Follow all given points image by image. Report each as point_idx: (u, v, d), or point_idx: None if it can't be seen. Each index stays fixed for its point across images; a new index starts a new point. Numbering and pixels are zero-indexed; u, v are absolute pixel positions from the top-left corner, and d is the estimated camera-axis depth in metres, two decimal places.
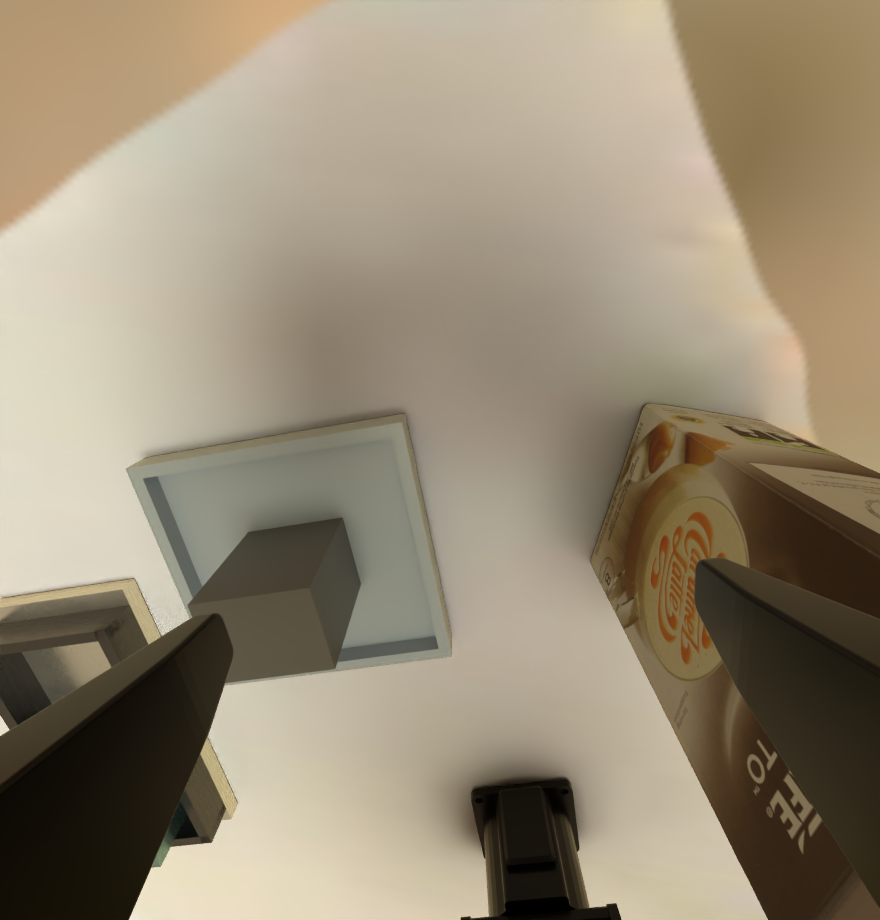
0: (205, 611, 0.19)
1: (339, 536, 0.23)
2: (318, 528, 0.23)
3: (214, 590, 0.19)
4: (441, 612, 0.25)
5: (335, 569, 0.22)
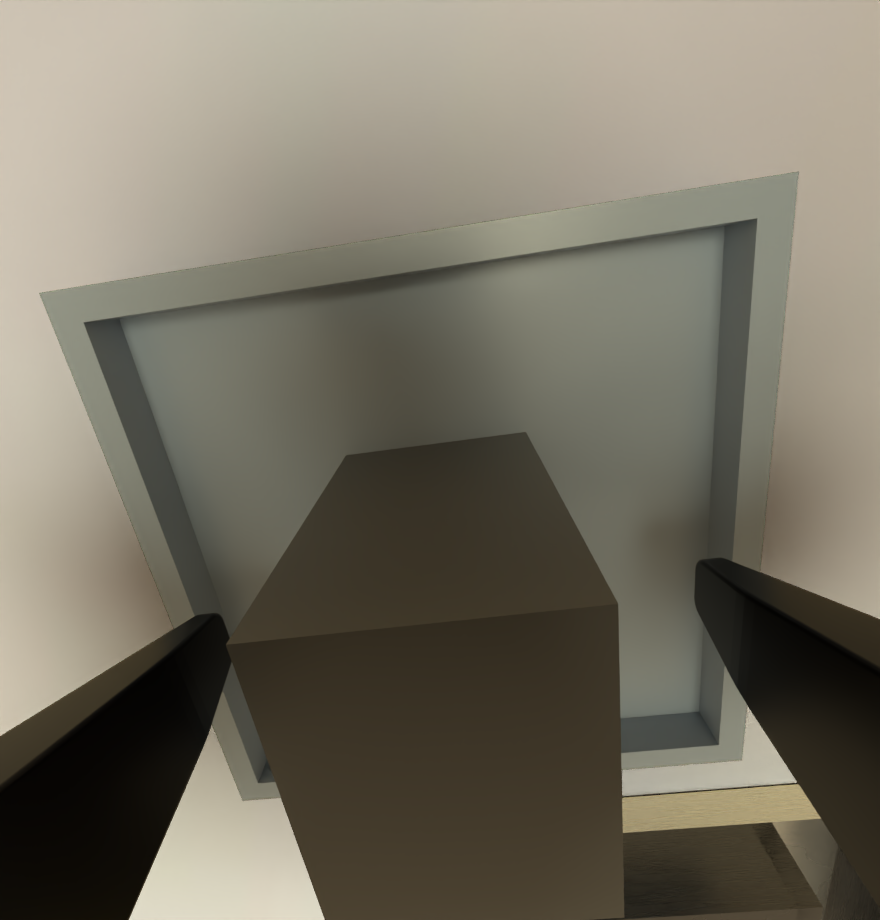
0: (349, 905, 0.06)
1: (351, 473, 0.09)
2: None
3: None
4: (619, 203, 0.08)
5: (381, 502, 0.08)
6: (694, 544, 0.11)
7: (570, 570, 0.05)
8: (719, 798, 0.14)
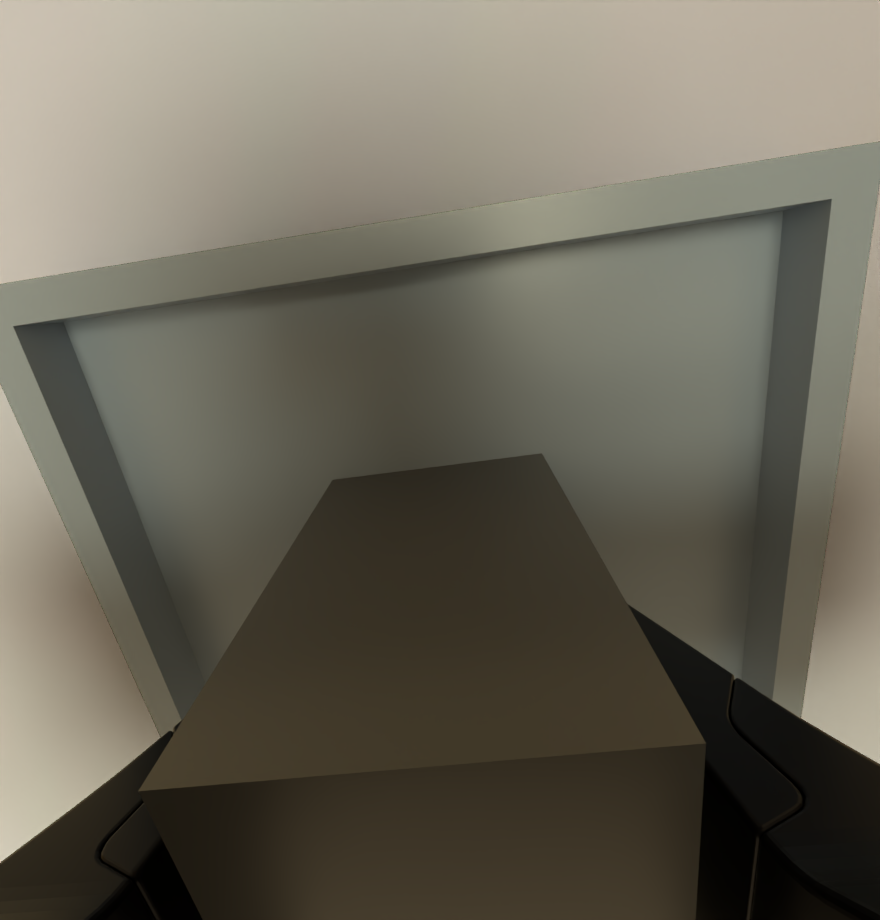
0: None
1: (336, 505, 0.08)
2: None
3: None
4: (662, 180, 0.06)
5: (370, 548, 0.06)
6: (734, 581, 0.10)
7: (625, 674, 0.04)
8: None
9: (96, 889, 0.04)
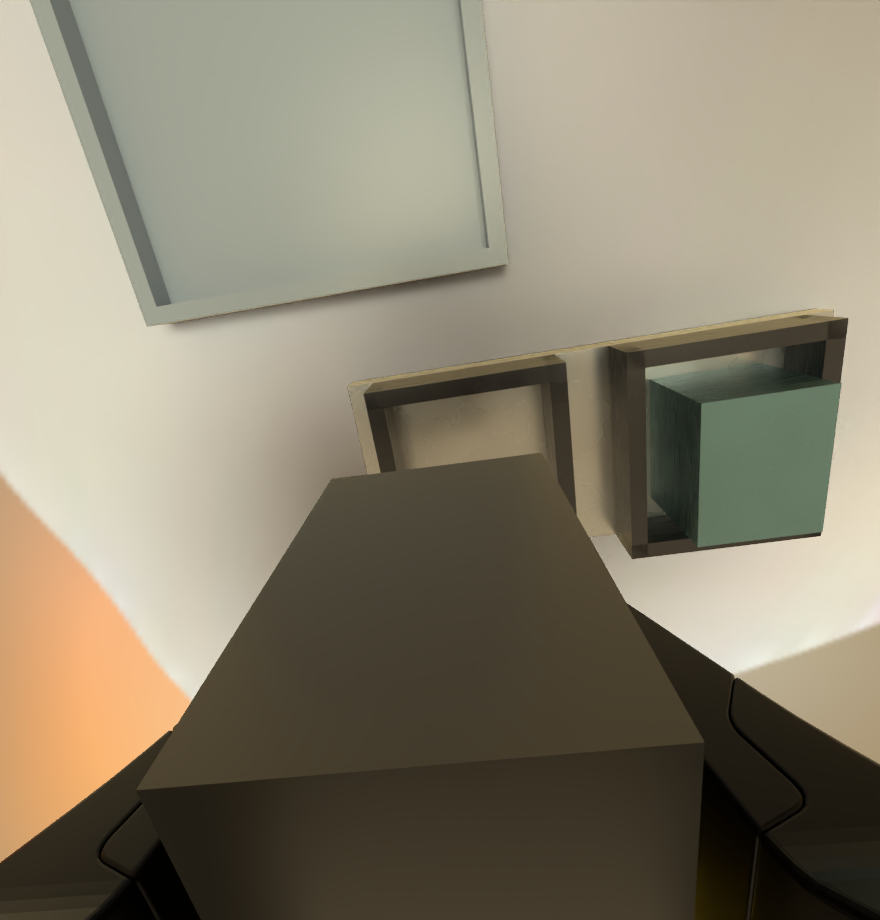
0: None
1: (336, 505, 0.08)
2: None
3: None
4: None
5: (368, 548, 0.06)
6: (457, 77, 0.15)
7: (623, 672, 0.04)
8: (522, 356, 0.19)
9: (95, 889, 0.04)
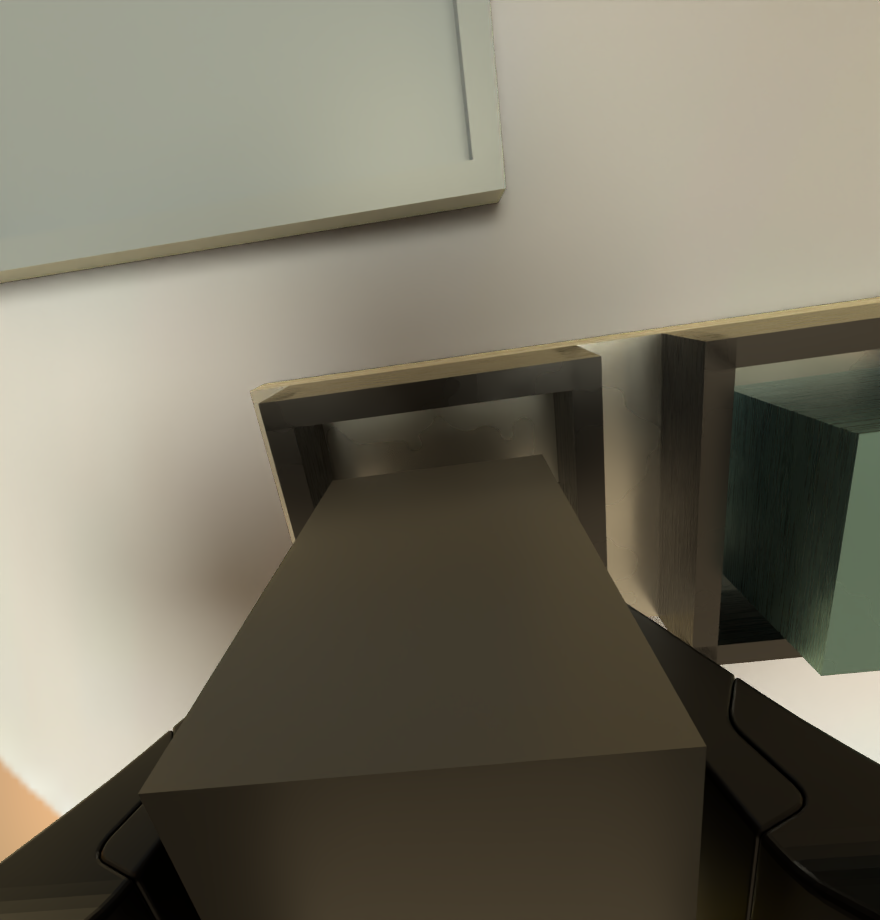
0: None
1: (336, 507, 0.08)
2: None
3: None
4: None
5: (370, 550, 0.06)
6: None
7: (625, 676, 0.04)
8: (525, 348, 0.12)
9: (96, 888, 0.04)
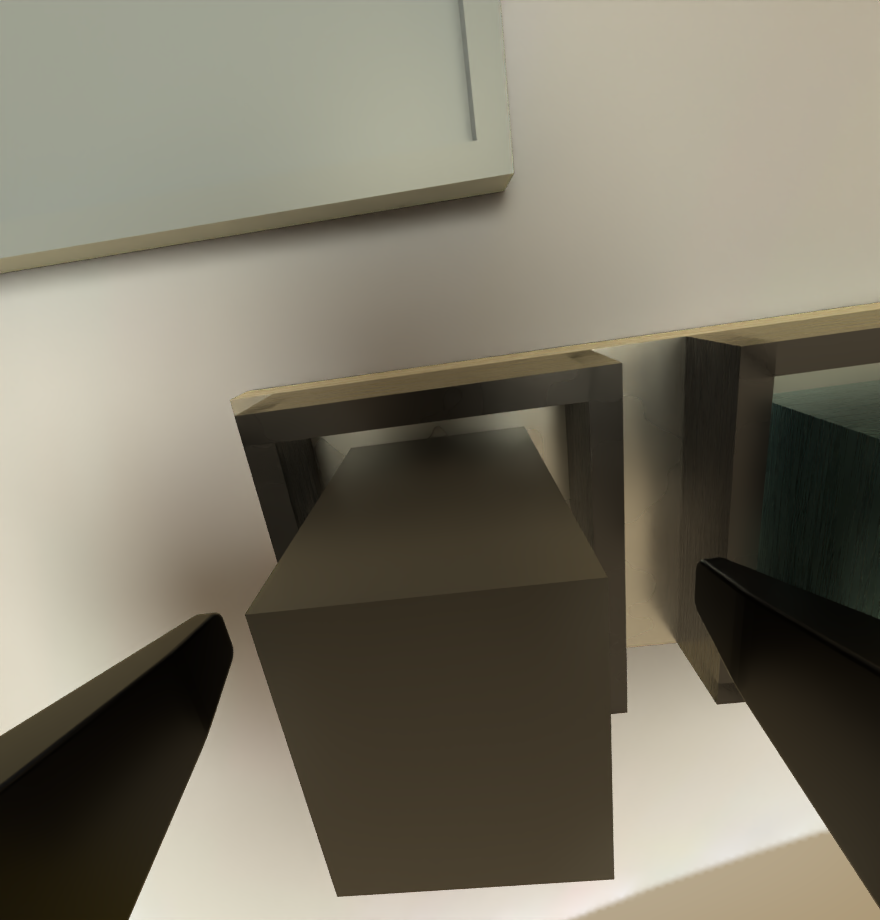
0: (355, 867, 0.07)
1: (357, 464, 0.10)
2: None
3: None
4: None
5: (386, 490, 0.08)
6: None
7: (564, 549, 0.06)
8: (534, 352, 0.11)
9: None
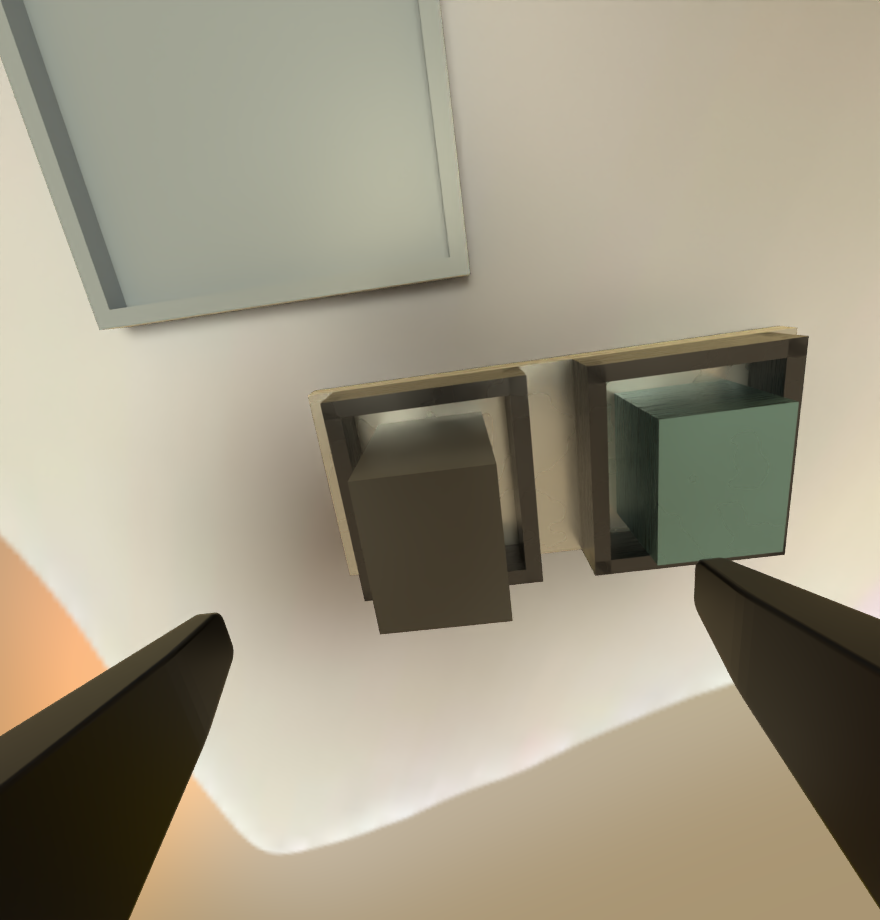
0: (389, 616, 0.14)
1: (384, 432, 0.17)
2: None
3: None
4: None
5: (402, 442, 0.16)
6: (418, 85, 0.15)
7: (483, 457, 0.13)
8: (487, 367, 0.18)
9: None
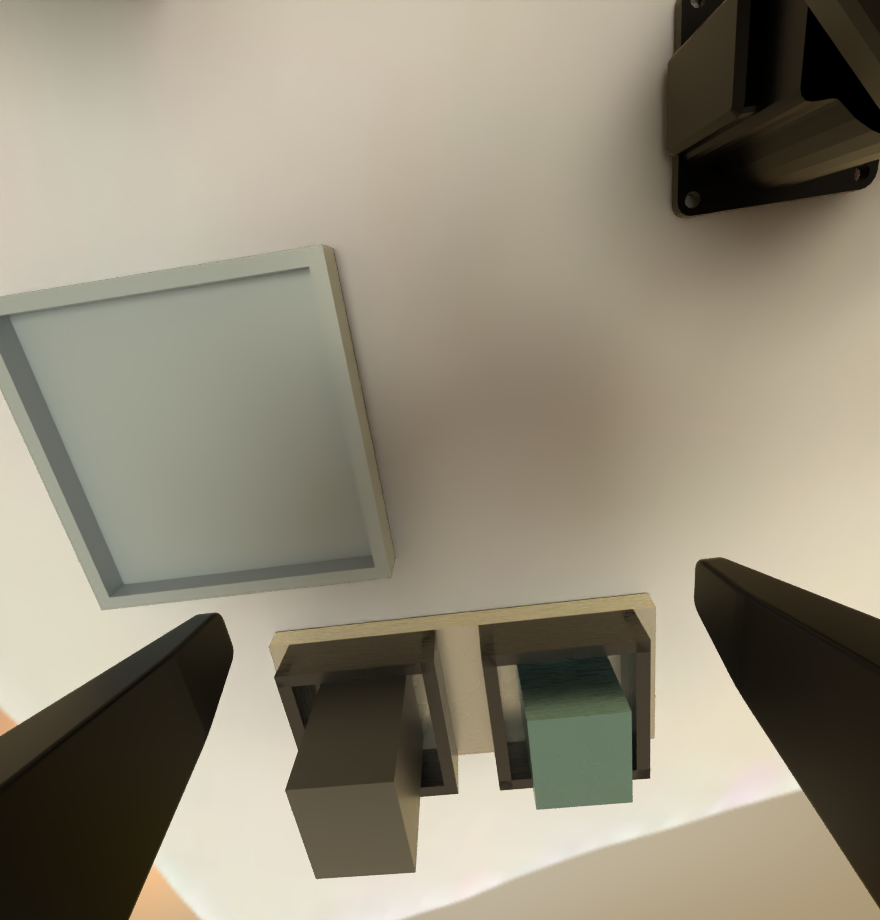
0: (322, 868, 0.19)
1: (327, 686, 0.22)
2: None
3: None
4: (241, 259, 0.16)
5: (337, 714, 0.20)
6: (347, 445, 0.19)
7: (387, 765, 0.17)
8: (413, 621, 0.23)
9: None
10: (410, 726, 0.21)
